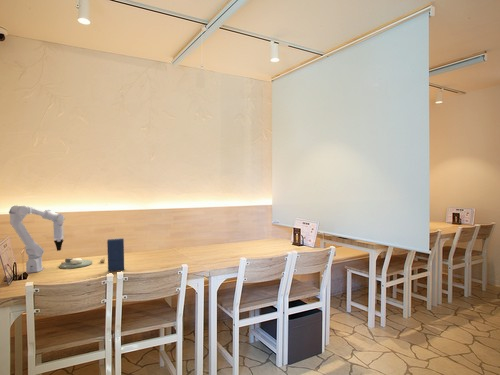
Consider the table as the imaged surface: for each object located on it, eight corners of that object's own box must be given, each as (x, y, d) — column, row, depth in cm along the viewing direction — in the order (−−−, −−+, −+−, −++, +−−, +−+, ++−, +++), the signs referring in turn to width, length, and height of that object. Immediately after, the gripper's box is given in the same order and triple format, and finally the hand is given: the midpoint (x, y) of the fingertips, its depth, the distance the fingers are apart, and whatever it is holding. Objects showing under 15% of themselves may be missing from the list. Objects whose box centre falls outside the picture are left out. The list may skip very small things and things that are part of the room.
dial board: (87, 267, 212) (87, 264, 212) (54, 269, 208) (54, 266, 208) (95, 260, 231) (95, 257, 231) (65, 262, 227) (65, 259, 227)
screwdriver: (103, 263, 223) (103, 260, 223) (100, 263, 223) (100, 260, 223) (105, 259, 235) (105, 256, 235) (102, 259, 234) (102, 256, 234)
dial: (84, 261, 223) (84, 257, 223) (77, 264, 216) (77, 260, 216) (69, 261, 224) (69, 257, 224) (62, 264, 217) (62, 260, 217)
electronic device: (124, 268, 209) (123, 238, 208) (124, 270, 204) (123, 239, 203) (108, 269, 205) (107, 239, 205) (107, 272, 201) (107, 240, 200)
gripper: (65, 231, 216) (66, 251, 217) (64, 229, 229) (65, 247, 229) (53, 232, 213) (53, 252, 213) (53, 230, 225) (53, 249, 225)
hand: (58, 250), depth 221 cm, fingers closed
